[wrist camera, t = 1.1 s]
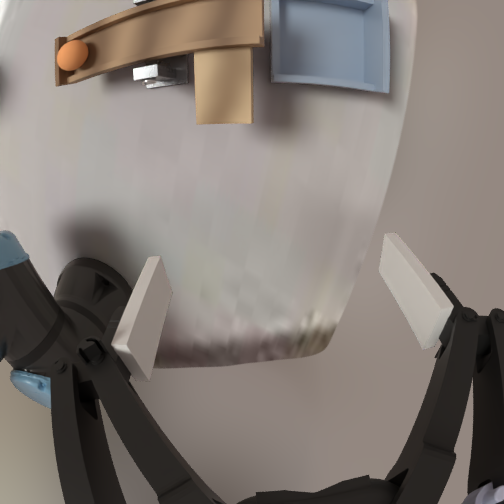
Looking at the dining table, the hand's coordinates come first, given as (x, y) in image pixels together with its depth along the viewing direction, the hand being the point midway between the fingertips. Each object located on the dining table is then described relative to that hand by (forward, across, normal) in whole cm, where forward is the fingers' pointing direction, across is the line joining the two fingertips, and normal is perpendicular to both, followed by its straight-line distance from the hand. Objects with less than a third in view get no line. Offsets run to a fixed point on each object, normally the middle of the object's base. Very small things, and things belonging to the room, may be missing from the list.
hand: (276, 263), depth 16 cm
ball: (+14, -18, +18) cm, 29 cm away
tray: (+21, +9, +16) cm, 28 cm away
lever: (+15, -9, +14) cm, 22 cm away
